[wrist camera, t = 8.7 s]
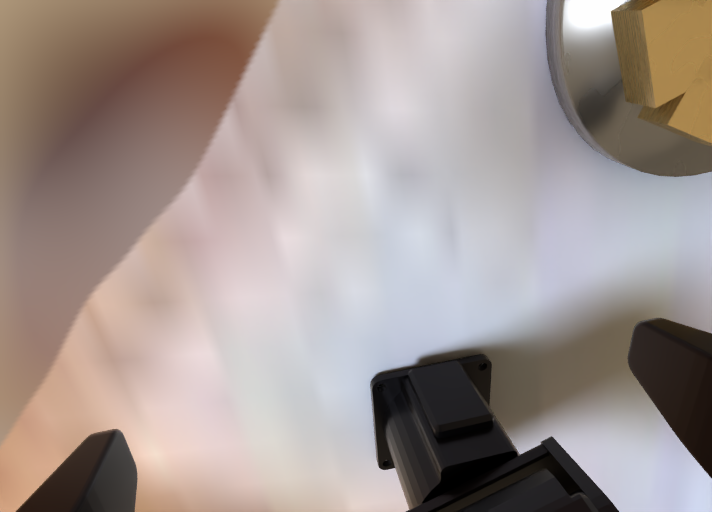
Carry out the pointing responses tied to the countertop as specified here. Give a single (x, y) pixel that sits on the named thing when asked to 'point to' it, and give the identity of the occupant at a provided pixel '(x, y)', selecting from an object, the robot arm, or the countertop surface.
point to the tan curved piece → (668, 63)
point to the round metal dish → (609, 93)
